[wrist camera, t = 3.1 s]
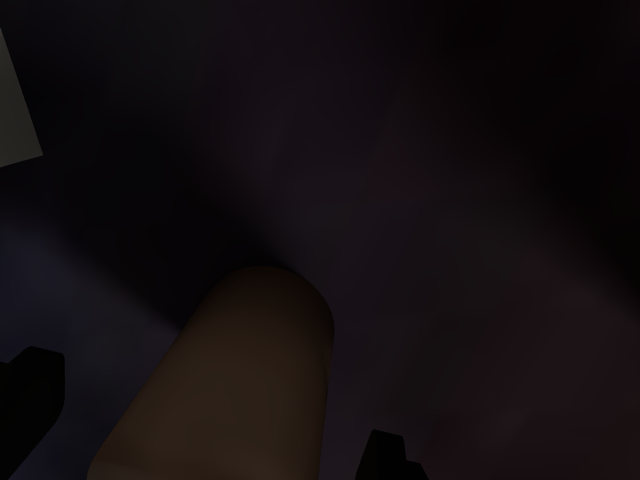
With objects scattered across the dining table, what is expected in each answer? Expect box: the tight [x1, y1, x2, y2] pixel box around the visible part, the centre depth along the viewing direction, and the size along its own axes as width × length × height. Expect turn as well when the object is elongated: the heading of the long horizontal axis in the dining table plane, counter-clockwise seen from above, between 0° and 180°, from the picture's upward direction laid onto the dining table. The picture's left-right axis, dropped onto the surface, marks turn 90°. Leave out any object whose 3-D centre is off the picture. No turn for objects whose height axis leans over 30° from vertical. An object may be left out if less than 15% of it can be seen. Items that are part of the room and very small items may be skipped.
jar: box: [87, 266, 334, 480], centre depth 12 cm, size 5×5×7 cm
